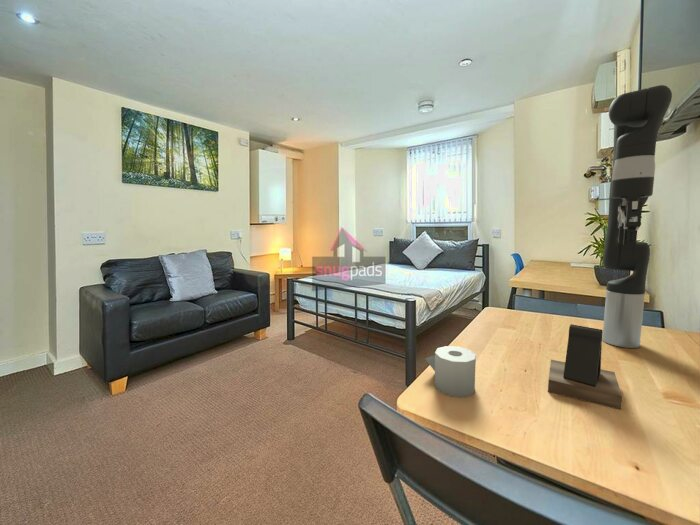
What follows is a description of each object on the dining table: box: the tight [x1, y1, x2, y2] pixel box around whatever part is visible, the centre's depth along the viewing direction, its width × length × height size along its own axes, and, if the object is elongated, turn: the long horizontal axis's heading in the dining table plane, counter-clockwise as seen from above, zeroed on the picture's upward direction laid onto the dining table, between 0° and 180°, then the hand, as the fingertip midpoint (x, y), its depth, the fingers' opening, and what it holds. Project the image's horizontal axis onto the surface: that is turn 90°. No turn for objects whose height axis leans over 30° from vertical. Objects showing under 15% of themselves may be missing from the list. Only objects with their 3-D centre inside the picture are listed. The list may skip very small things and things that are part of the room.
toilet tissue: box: [424, 345, 477, 399], centre depth 75 cm, size 9×13×9 cm
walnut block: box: [547, 359, 623, 411], centre depth 73 cm, size 13×13×3 cm
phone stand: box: [563, 323, 603, 387], centre depth 72 cm, size 9×6×12 cm, turn 134°
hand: (626, 244), depth 75 cm, fingers open, 8 cm apart
